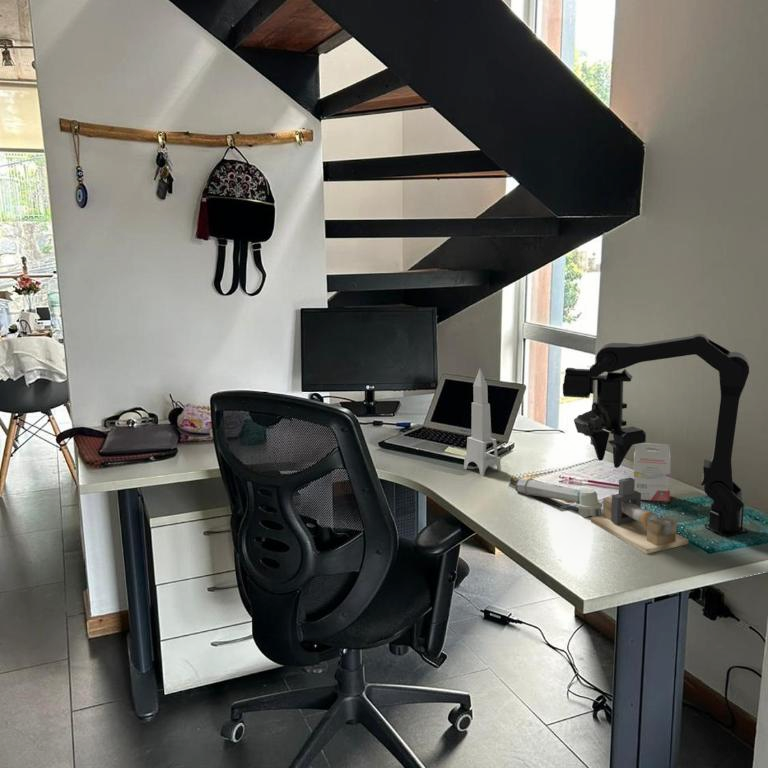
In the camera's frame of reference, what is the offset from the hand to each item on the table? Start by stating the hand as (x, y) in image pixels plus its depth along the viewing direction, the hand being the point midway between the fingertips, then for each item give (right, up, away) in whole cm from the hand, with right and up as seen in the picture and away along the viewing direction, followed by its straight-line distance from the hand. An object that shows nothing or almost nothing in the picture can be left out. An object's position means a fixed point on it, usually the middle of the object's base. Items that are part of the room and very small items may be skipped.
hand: (608, 463), depth 169 cm
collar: (+3, -13, -3) cm, 13 cm away
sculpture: (-24, -6, +40) cm, 47 cm away
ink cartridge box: (+15, -10, +13) cm, 22 cm away
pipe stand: (+4, -15, -7) cm, 17 cm away
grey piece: (-9, -12, +12) cm, 19 cm away
